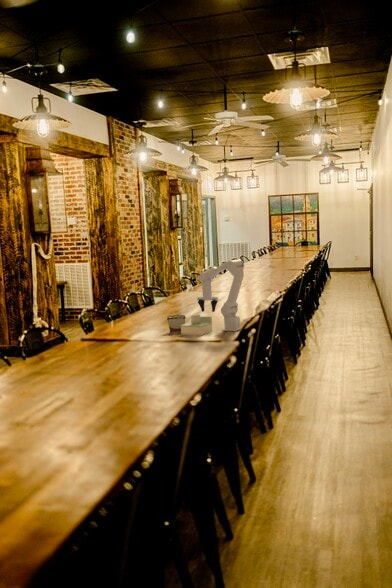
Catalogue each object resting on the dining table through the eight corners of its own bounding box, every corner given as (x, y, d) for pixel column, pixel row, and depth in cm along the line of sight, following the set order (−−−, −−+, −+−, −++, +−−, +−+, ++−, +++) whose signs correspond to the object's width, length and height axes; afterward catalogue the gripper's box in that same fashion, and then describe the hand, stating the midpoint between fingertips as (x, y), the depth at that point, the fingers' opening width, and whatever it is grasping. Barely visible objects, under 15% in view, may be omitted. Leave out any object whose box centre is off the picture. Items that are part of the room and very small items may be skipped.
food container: (188, 329, 352) (187, 314, 351) (187, 331, 346) (186, 316, 345) (169, 330, 354) (167, 315, 352) (167, 332, 348) (166, 317, 346)
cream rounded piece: (201, 323, 338) (200, 315, 337) (193, 324, 337) (192, 316, 336) (199, 322, 343) (198, 314, 342) (191, 323, 342) (190, 315, 341)
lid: (211, 322, 343) (211, 316, 342) (200, 327, 331) (200, 321, 330) (192, 322, 350) (191, 316, 349) (180, 326, 338) (180, 320, 337)
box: (212, 330, 343) (211, 322, 343) (201, 335, 331) (200, 327, 331) (192, 330, 350) (192, 322, 350) (181, 334, 338) (180, 326, 338)
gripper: (219, 289, 351) (221, 310, 353) (200, 289, 358) (201, 310, 360) (214, 291, 345) (216, 312, 347) (194, 291, 352) (196, 312, 354)
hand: (208, 311), depth 353 cm, fingers open, 7 cm apart
